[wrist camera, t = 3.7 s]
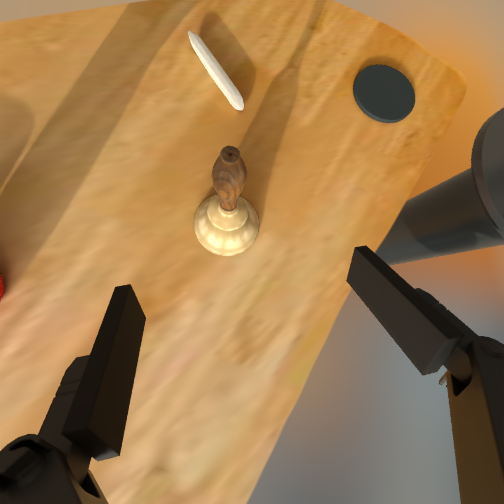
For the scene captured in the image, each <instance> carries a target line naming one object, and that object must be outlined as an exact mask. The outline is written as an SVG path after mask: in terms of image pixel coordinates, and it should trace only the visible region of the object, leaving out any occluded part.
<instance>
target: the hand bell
mask: <svg viewBox="0 0 504 504" xmlns="http://www.w3.org/2000/svg"><path fill="white" fill-rule="evenodd" d="M246 178H247V173H246V167H245V164H244V162H243V160H242V158H241V156H240V152H239V150H238V149H237V148H235V147H233V146H226V147H224V148H223V149H222V150H221V152H220V155H219V157H218V158H217V160H216V162H215V164H214V167H213V171H212V179H213V185H214V188H215V190H216V192H217V193H218V194H216V195H214V196H211V197H209V198H208V199H206V200H205V201H204V202H203V203H202V204H201V205H200V206H199V208H198V210H197V212H196V214H195V218H194V230H195V234H196V236H197V238H198V240H199V242H200V243H201V244H202V245H203V246H204V247H205V248H206V249H207V250H209V251H210V252H212V253H215V254H218V255H223V256H231V255H237V254H239V253H241V252H243V251H245V250H246V249H248V248H249V247H250V246H251V245H252V244H253V242H254V241H255V239H256V237H257V234H258V230H259V220H258V216H257V213H256V211H255V209H254V208H253V206H252V205H251V204H250V203H249V202H248V201H247V200H245V199H244V198H242V197H241V196H240V194H241V193H242V191H243V189H244V187H245V183H246Z"/></svg>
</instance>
